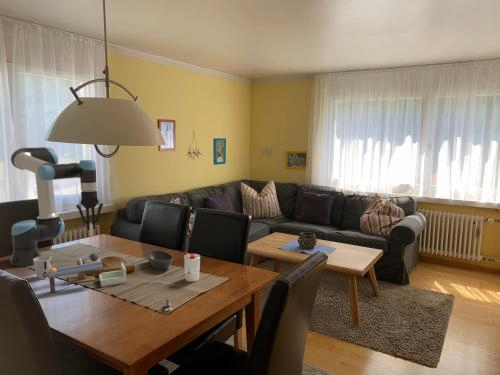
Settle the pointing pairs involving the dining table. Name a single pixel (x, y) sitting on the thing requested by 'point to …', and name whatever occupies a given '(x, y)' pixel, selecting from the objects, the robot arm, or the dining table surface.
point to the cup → (42, 266)
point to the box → (113, 277)
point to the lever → (78, 267)
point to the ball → (52, 270)
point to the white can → (192, 267)
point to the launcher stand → (73, 279)
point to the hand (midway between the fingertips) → (91, 235)
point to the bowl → (159, 259)
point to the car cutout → (167, 306)
